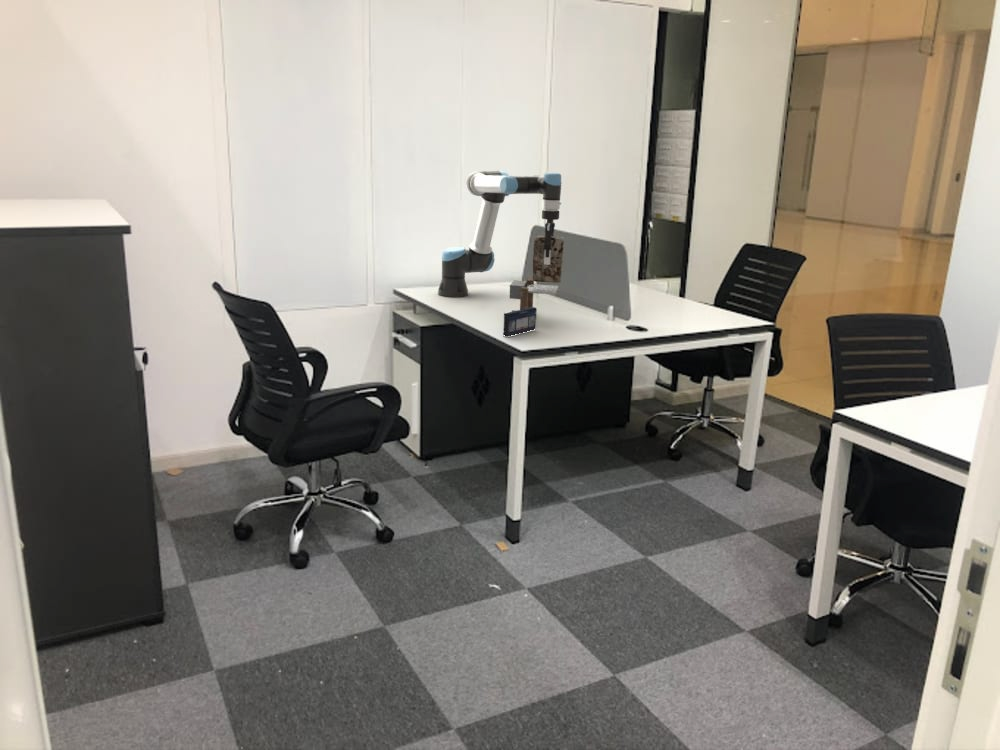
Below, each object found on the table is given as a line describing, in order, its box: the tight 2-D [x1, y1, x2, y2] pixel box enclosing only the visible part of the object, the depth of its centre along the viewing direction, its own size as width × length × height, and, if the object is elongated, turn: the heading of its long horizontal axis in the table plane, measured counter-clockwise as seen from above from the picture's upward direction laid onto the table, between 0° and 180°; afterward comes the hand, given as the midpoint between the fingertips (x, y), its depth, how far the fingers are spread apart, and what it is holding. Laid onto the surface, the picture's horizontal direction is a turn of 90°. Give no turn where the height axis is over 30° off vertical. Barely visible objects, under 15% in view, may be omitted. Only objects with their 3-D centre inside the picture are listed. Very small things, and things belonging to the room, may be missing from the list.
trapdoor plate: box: [509, 279, 559, 300], centre depth 356 cm, size 20×16×6 cm
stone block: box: [532, 235, 565, 284], centre depth 351 cm, size 13×7×20 cm, turn 87°
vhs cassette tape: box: [502, 306, 538, 336], centre depth 333 cm, size 18×3×10 cm, turn 137°
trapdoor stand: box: [511, 278, 535, 312], centre depth 358 cm, size 11×24×16 cm, turn 170°
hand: (547, 263), depth 351 cm, fingers closed on stone block, 6 cm apart
